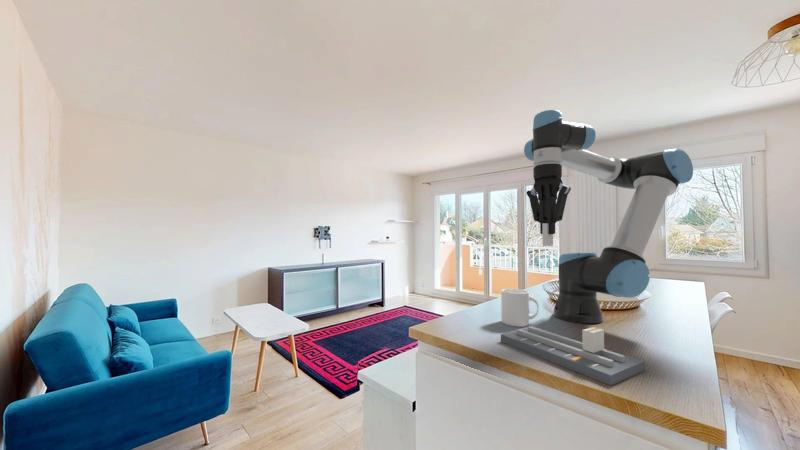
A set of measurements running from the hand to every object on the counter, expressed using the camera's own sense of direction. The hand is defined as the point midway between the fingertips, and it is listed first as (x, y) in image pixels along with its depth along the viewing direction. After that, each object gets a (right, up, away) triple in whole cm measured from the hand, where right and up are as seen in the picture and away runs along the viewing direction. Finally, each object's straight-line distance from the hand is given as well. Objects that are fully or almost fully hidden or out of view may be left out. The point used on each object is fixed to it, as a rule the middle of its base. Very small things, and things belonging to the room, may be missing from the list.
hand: (547, 245), depth 90 cm
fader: (+1, -24, -19) cm, 31 cm away
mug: (-3, -27, +13) cm, 30 cm away
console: (-2, -26, -13) cm, 29 cm away
